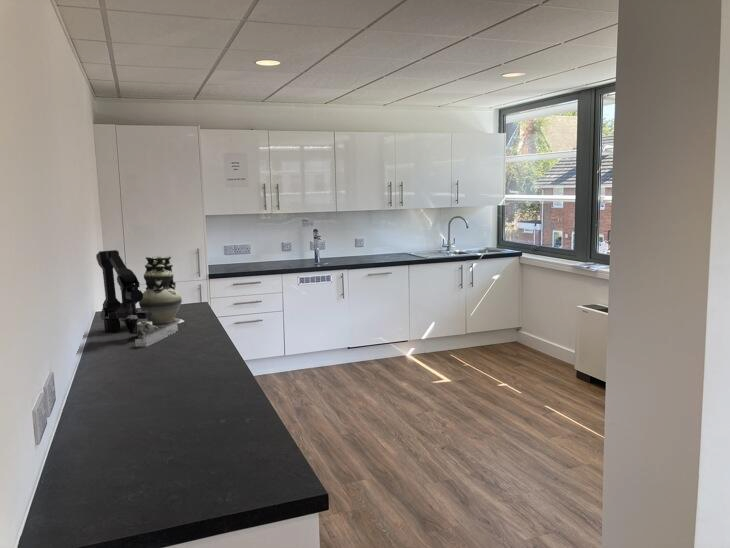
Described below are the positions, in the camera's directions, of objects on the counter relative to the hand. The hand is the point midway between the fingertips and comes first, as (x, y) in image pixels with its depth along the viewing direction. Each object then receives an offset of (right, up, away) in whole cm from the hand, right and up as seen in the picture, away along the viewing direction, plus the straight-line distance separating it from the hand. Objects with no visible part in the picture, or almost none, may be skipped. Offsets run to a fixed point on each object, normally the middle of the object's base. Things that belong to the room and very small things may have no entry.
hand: (131, 333), depth 275 cm
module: (+1, -1, +14) cm, 14 cm away
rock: (+8, -2, +3) cm, 9 cm away
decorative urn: (+3, +2, +33) cm, 33 cm away
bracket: (+13, -2, -2) cm, 13 cm away
